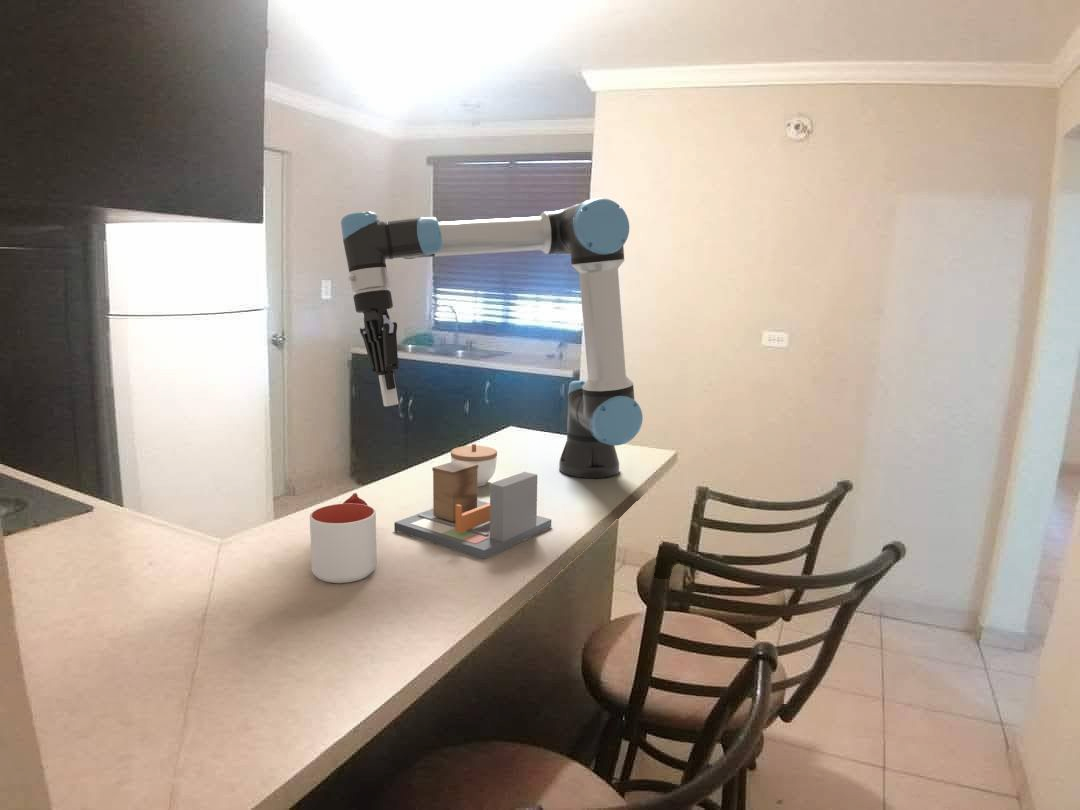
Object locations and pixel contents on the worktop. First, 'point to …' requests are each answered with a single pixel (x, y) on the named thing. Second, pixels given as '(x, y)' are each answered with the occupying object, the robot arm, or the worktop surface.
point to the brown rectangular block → (454, 488)
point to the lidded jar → (477, 460)
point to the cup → (343, 542)
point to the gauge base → (506, 526)
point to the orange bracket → (471, 517)
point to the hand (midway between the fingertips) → (391, 405)
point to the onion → (355, 500)
